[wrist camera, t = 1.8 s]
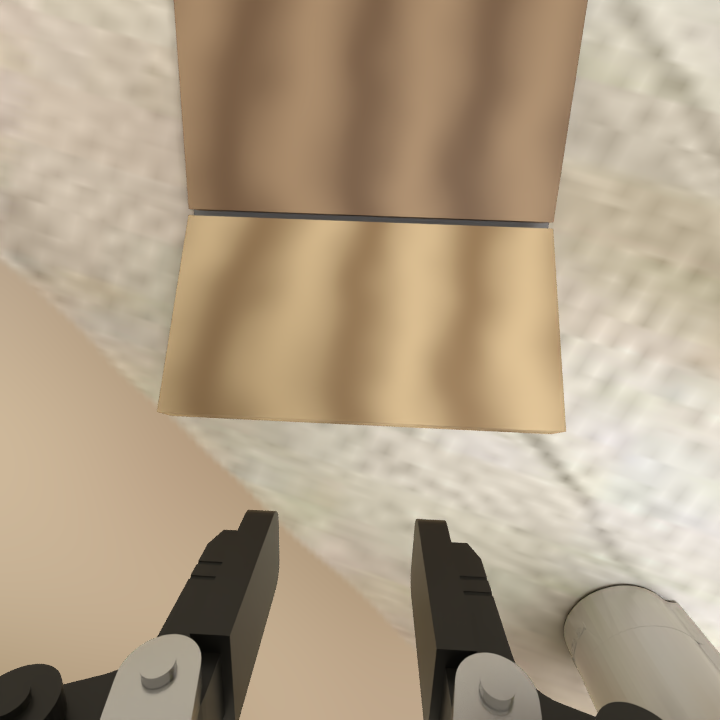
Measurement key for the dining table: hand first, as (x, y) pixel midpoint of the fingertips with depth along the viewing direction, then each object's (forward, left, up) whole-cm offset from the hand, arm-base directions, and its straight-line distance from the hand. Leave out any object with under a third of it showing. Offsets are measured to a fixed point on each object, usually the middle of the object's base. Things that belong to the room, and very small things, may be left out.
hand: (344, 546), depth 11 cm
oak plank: (0, -2, -17) cm, 17 cm away
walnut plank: (0, -15, -21) cm, 26 cm away
